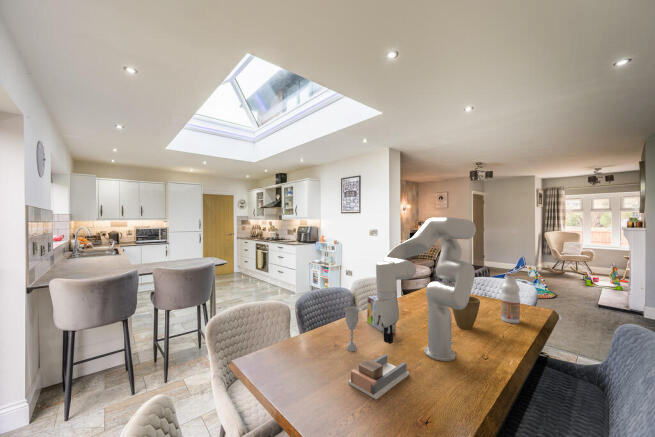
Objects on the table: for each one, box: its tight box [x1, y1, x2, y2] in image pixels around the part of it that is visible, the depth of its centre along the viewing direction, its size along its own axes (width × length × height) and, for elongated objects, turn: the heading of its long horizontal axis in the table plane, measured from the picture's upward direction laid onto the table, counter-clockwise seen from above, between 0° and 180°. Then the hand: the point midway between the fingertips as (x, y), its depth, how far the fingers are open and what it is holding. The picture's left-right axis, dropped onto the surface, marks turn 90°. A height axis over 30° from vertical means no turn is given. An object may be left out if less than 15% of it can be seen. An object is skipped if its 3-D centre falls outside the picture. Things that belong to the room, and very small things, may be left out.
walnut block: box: [358, 358, 383, 380], centre depth 97 cm, size 6×6×6 cm
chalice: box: [344, 306, 361, 352], centre depth 125 cm, size 7×7×18 cm
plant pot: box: [451, 295, 481, 330], centre depth 153 cm, size 15×15×16 cm
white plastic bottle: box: [500, 272, 521, 324], centre depth 163 cm, size 9×9×28 cm
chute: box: [347, 353, 410, 400], centre depth 101 cm, size 21×12×5 cm, turn 134°
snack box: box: [366, 295, 397, 336], centre depth 150 cm, size 21×6×15 cm, turn 22°
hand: (388, 342), depth 105 cm, fingers closed
